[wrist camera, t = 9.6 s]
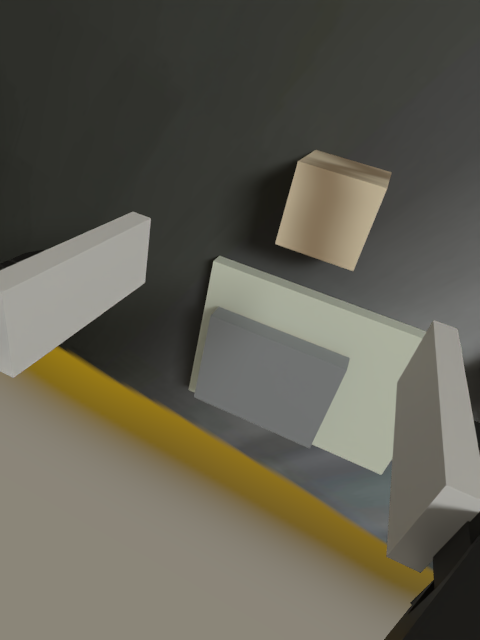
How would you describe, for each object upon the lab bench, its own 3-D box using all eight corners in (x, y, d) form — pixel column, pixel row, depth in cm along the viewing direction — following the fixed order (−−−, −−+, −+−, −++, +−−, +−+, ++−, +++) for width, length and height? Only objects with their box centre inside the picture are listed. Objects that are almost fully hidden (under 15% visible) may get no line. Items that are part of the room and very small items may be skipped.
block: (391, 172, 26) (387, 188, 21) (362, 244, 28) (353, 271, 24) (316, 149, 26) (297, 161, 22) (294, 222, 29) (274, 243, 25)
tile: (347, 369, 30) (210, 315, 32) (309, 448, 35) (193, 397, 37) (350, 355, 31) (220, 304, 33) (314, 432, 36) (203, 383, 38)
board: (460, 344, 29) (462, 353, 28) (382, 464, 37) (381, 474, 36) (219, 255, 33) (213, 260, 32) (194, 382, 40) (188, 389, 39)
